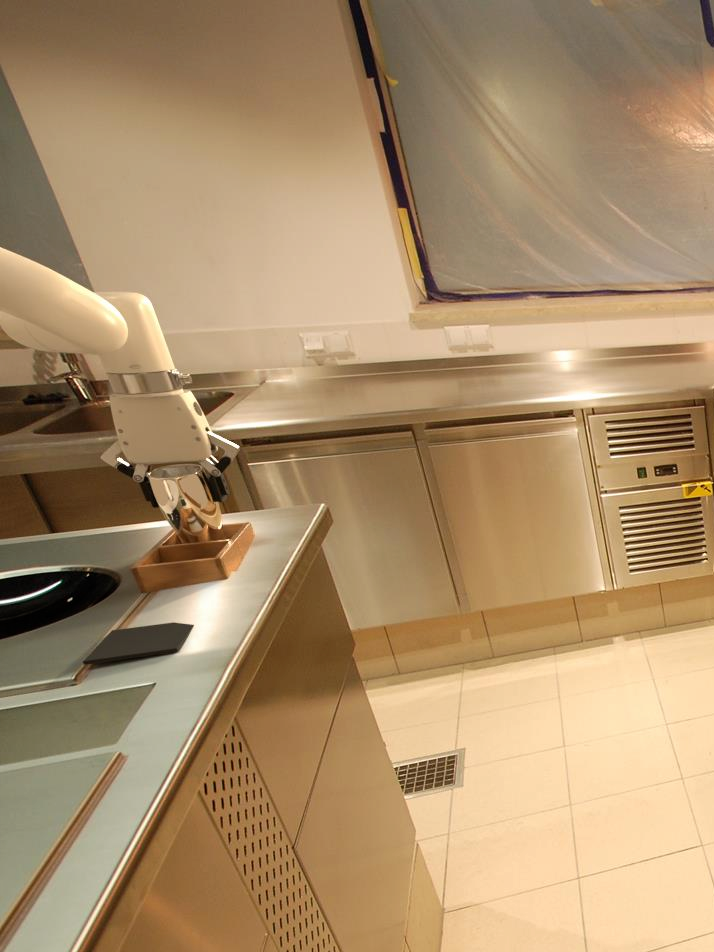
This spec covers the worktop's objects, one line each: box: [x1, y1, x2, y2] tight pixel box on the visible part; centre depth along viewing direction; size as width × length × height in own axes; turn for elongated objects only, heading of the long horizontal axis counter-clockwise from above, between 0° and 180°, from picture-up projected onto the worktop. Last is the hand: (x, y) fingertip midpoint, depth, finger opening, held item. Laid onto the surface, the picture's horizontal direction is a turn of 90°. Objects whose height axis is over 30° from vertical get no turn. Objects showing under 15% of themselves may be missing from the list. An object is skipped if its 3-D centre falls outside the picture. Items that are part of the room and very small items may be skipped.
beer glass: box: [147, 463, 227, 544], centre depth 129 cm, size 7×7×15 cm
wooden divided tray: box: [130, 521, 256, 594], centre depth 129 cm, size 10×19×5 cm, turn 27°
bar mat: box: [82, 621, 195, 666], centre depth 108 cm, size 9×10×1 cm
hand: (190, 501), depth 129 cm, fingers closed on beer glass, 7 cm apart
